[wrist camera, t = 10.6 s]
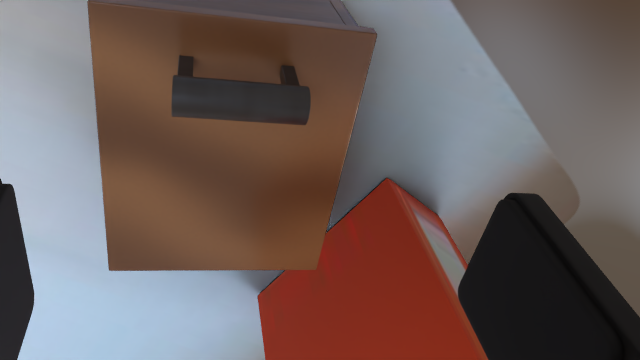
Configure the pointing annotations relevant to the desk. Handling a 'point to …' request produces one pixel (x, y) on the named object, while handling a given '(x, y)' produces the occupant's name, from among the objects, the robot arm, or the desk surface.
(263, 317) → the file binder
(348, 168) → the desk surface
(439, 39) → the desk surface
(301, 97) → the wooden box lid
